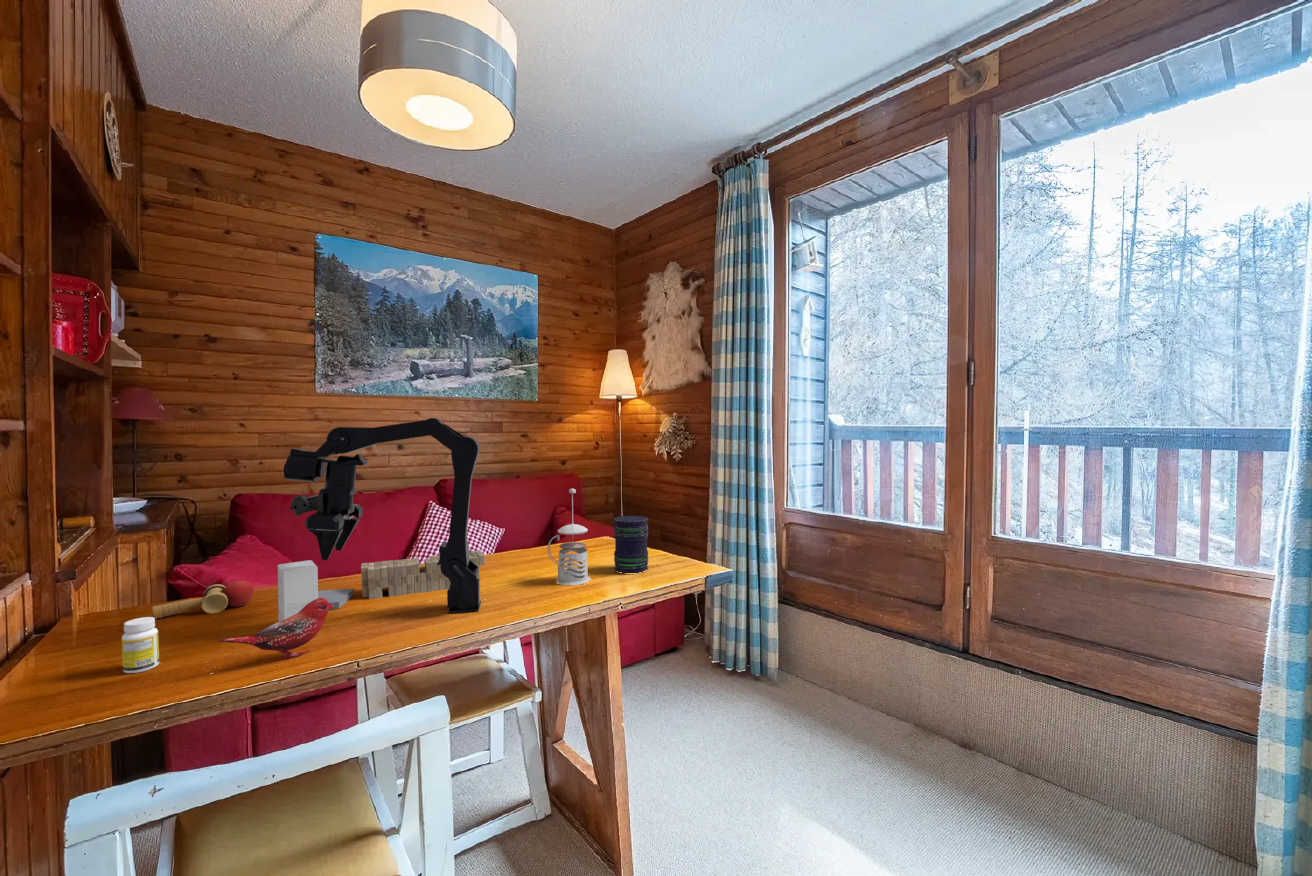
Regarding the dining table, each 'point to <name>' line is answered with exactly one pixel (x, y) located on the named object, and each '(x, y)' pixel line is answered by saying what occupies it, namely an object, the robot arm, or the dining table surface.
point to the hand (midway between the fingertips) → (331, 555)
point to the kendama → (210, 599)
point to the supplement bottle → (140, 645)
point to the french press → (571, 555)
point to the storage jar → (631, 544)
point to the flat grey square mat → (336, 596)
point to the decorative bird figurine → (290, 630)
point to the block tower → (407, 576)
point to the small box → (296, 587)
